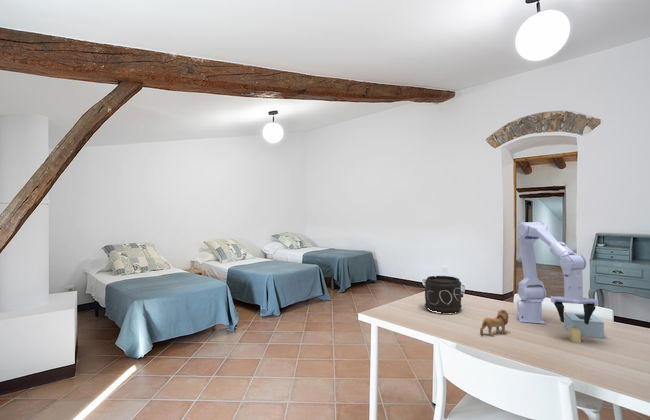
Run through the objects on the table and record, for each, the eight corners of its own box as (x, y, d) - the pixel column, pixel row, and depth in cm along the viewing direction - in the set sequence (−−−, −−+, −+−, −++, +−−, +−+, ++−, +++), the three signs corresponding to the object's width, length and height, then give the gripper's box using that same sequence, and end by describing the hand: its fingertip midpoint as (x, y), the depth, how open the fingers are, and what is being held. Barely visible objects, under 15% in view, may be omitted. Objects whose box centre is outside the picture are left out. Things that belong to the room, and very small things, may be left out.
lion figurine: (500, 328, 143) (500, 307, 143) (512, 332, 138) (512, 310, 138) (475, 334, 137) (475, 312, 137) (487, 339, 132) (487, 315, 132)
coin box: (572, 335, 134) (572, 320, 134) (564, 326, 145) (564, 312, 145) (604, 338, 131) (603, 322, 131) (593, 328, 141) (593, 314, 141)
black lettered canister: (462, 317, 160) (461, 283, 160) (422, 312, 167) (422, 280, 168) (464, 307, 176) (463, 276, 176) (428, 303, 184) (427, 274, 184)
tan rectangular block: (572, 342, 128) (572, 330, 128) (568, 337, 132) (568, 325, 132) (580, 343, 127) (580, 330, 127) (576, 338, 131) (576, 326, 131)
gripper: (553, 287, 128) (554, 323, 128) (600, 290, 123) (601, 327, 123) (548, 284, 135) (549, 318, 135) (593, 286, 130) (594, 322, 130)
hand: (574, 322), depth 129 cm, fingers open, 7 cm apart
